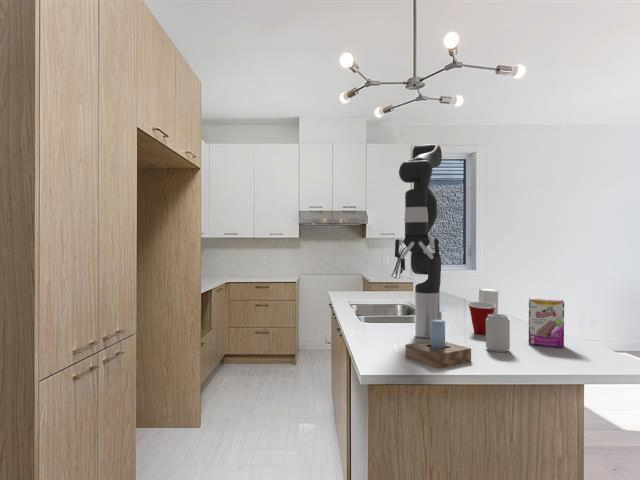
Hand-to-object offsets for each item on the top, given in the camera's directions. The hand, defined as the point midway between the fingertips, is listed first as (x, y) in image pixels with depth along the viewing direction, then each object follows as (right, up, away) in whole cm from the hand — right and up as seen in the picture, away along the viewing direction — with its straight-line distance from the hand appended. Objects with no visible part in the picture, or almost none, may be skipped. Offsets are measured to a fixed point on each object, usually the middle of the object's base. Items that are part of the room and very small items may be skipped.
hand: (416, 270), depth 140 cm
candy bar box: (+48, -28, +11) cm, 57 cm away
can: (+28, -28, +4) cm, 40 cm away
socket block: (+5, -27, -8) cm, 29 cm away
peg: (+5, -27, -8) cm, 29 cm away
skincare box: (+44, -28, +51) cm, 73 cm away
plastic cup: (+33, -28, +31) cm, 53 cm away
